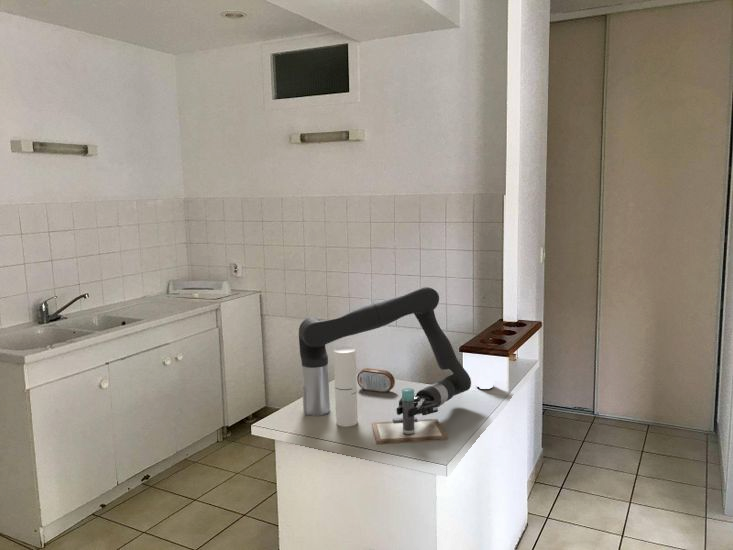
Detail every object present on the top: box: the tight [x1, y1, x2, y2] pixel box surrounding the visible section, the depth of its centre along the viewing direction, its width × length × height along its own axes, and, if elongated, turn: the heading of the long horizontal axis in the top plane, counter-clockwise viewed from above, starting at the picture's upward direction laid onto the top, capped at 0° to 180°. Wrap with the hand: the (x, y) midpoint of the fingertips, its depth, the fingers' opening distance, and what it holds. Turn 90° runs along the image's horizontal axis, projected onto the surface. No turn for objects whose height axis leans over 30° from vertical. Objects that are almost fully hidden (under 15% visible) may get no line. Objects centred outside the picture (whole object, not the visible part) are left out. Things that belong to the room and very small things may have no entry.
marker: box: [401, 387, 415, 435], centre depth 190 cm, size 4×4×14 cm
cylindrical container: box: [333, 346, 359, 428], centre depth 202 cm, size 7×7×25 cm
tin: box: [356, 368, 396, 393], centre depth 234 cm, size 15×3×8 cm, turn 66°
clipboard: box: [371, 416, 448, 445], centre depth 194 cm, size 22×15×2 cm
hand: (403, 412), depth 187 cm, fingers closed on marker, 3 cm apart
